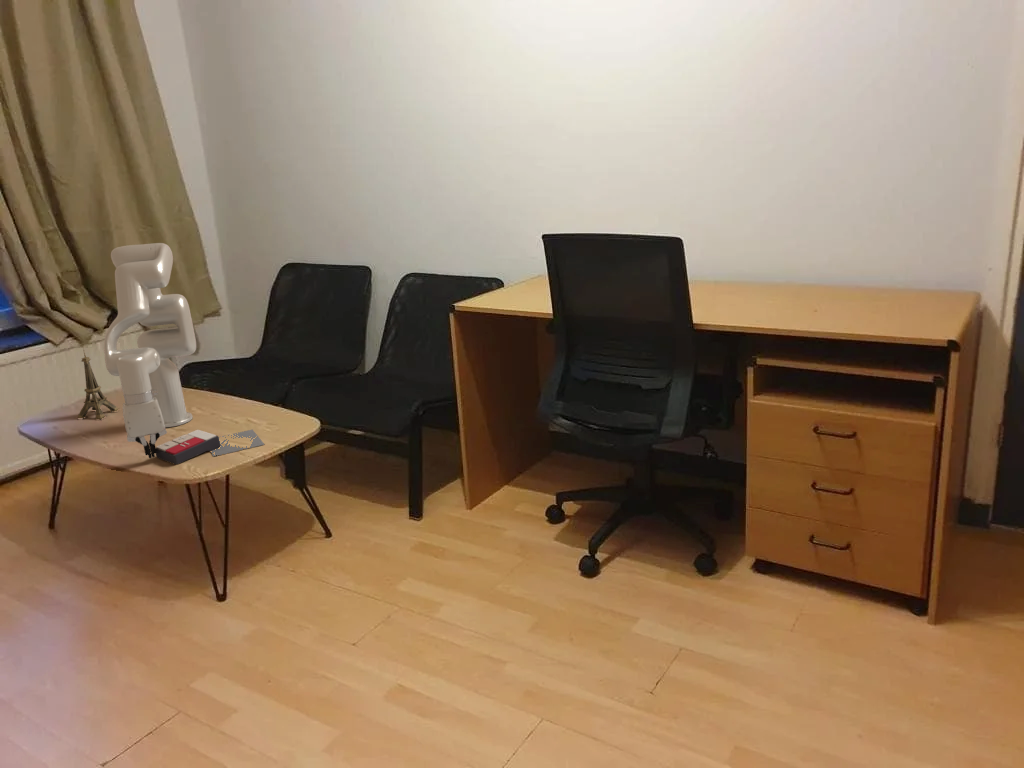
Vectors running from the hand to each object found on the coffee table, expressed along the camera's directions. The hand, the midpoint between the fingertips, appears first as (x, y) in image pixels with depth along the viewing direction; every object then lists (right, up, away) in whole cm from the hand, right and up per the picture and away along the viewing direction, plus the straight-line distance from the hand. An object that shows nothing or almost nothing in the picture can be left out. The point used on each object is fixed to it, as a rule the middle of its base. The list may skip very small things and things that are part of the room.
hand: (151, 456), depth 236 cm
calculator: (+9, 0, +5) cm, 10 cm away
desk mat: (+20, +3, +11) cm, 23 cm away
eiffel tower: (-39, +10, +46) cm, 61 cm away
